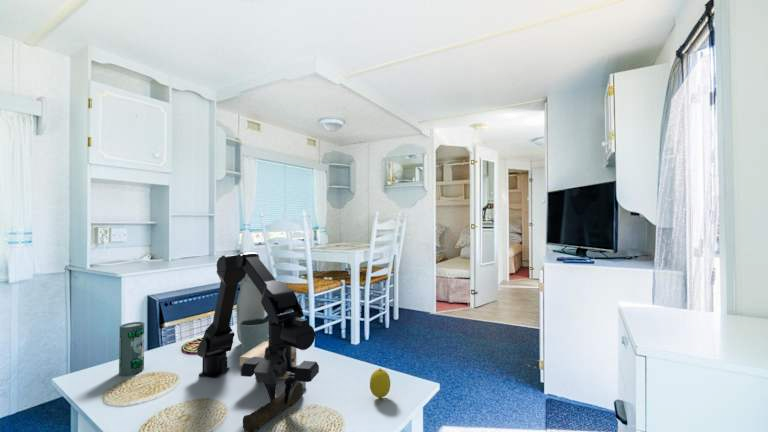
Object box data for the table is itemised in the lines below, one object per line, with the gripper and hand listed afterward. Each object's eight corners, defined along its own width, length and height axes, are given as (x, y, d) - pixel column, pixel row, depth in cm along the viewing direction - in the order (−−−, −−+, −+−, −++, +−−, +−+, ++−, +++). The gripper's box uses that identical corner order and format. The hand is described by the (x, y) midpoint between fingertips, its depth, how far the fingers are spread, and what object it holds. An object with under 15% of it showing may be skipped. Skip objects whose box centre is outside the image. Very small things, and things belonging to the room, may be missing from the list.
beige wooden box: (239, 390, 96) (239, 356, 96) (264, 371, 108) (264, 341, 109) (275, 394, 94) (275, 359, 94) (296, 373, 106) (296, 343, 106)
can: (139, 374, 107) (140, 326, 107) (116, 377, 105) (117, 328, 105) (145, 366, 113) (146, 321, 113) (123, 369, 110) (124, 323, 111)
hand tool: (253, 437, 75) (253, 415, 75) (241, 431, 77) (241, 411, 77) (310, 398, 92) (310, 381, 92) (299, 394, 94) (299, 377, 94)
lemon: (383, 406, 87) (383, 374, 87) (365, 400, 90) (365, 370, 90) (394, 396, 92) (394, 367, 92) (377, 391, 95) (377, 362, 95)
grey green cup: (263, 360, 117) (263, 325, 117) (234, 360, 117) (234, 325, 118) (273, 349, 127) (273, 317, 128) (246, 349, 127) (246, 317, 128)
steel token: (289, 394, 94) (289, 387, 94) (289, 387, 98) (289, 380, 98) (305, 392, 95) (305, 385, 95) (305, 385, 99) (305, 378, 99)
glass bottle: (254, 337, 141) (254, 270, 141) (269, 342, 135) (269, 272, 135) (231, 344, 133) (231, 273, 133) (246, 350, 127) (246, 275, 127)
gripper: (226, 349, 79) (226, 416, 79) (300, 355, 76) (300, 425, 76) (253, 334, 90) (253, 393, 90) (319, 338, 87) (319, 400, 86)
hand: (280, 402), depth 85 cm, fingers closed on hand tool, 3 cm apart
